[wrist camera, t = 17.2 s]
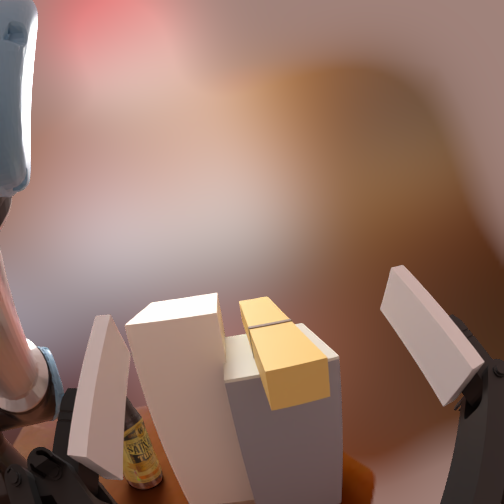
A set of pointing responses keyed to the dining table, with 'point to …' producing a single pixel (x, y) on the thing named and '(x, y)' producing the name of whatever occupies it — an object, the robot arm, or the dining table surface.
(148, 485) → the sauce bottle
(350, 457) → the dining table surface
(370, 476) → the dining table surface
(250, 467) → the grey upright block
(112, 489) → the dining table surface
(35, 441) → the dining table surface
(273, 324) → the yellow long bar
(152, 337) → the cream pillar
